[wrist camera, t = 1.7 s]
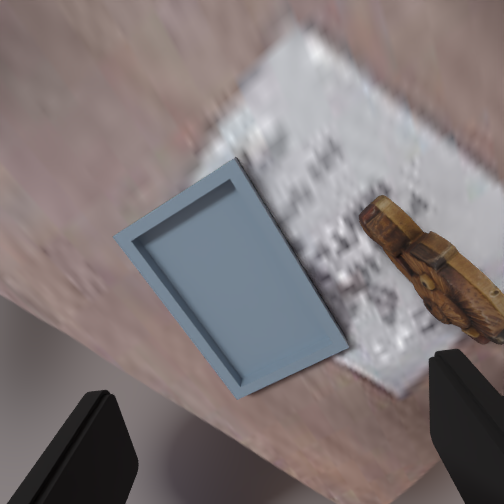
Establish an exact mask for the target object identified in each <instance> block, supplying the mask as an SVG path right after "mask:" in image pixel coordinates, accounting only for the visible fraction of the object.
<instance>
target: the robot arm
mask: <svg viewBox="0 0 504 504" xmlns="http://www.w3.org/2000/svg"><path fill="white" fill-rule="evenodd" d="M429 401H430V434H431V438H432V441H433V444H434V446H435V448H436V450H437V452H438V454H439V456H440V458H441V459H442V461H443V463H444V465H445V467H446V469H447V471H448V472H449V474H450V476H451V478H452V480H453V482H454V484H455V486H456V487H457V489H458V491H459V493H460V495H461V497H462V498H463V500H464V502H465V504H504V396H501V395H500V394H499V393H498V392H497V390H496V389H495V388H494V387H493V386H492V385H491V384H490V383H489V382H488V380H487V379H486V378H485V377H484V376H483V375H482V374H481V373H480V372H479V370H478V369H477V368H476V367H475V366H474V365H473V364H472V363H471V361H470V360H469V359H468V358H467V357H466V356H465V355H464V354H463V353H462V352H461V351H460V350H459V349H451V350H443V351H437V352H435V357H431V358H429ZM137 472H138V458H137V455H136V452H135V450H134V447H133V444H132V441H131V439H130V436H129V433H128V430H127V428H126V425H125V422H124V420H123V417H122V414H121V411H120V408H119V406H118V403H117V400H116V398H115V396H114V395H113V394H110V393H109V392H108V391H107V390H101V391H92V392H87V393H86V394H85V395H84V396H83V398H82V399H81V400H80V402H79V403H78V405H77V406H76V408H75V409H74V410H73V412H72V413H71V414H70V416H69V417H68V419H67V420H66V421H65V423H64V424H63V426H62V427H61V428H60V430H59V431H58V433H57V434H56V436H55V437H54V438H53V440H52V441H51V443H50V444H49V446H48V447H47V448H46V450H45V451H44V452H43V454H42V455H41V457H40V458H39V460H38V461H37V462H36V464H35V465H34V467H33V468H32V469H31V471H30V472H29V474H28V475H27V476H26V478H25V479H24V481H23V482H22V483H21V485H20V486H19V488H18V489H17V490H16V492H15V493H14V495H13V496H12V497H11V499H10V500H9V502H8V503H7V504H125V503H126V500H127V498H128V495H129V493H130V490H131V488H132V485H133V482H134V480H135V477H136V475H137Z"/></svg>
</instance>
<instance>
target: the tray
mask: <svg viewBox="0 0 504 504" xmlns="http://www.w3.org/2000/svg"><path fill="white" fill-rule="evenodd" d="M113 238H114V239H115V241H116V242H117V243H118V245H119V246H120V247H121V248H122V250H123V251H124V252H125V254H126V255H127V256H128V258H129V259H130V260H131V262H132V263H133V264H134V265H135V267H136V268H137V269H138V271H139V272H140V273H141V275H142V276H143V277H144V279H145V280H146V281H147V282H148V284H149V285H150V286H151V288H152V289H153V290H154V292H155V293H156V294H157V296H158V297H159V298H160V300H161V301H162V302H163V303H164V305H165V306H166V307H167V309H168V310H169V311H170V313H171V314H172V315H173V317H174V318H175V319H176V320H177V322H178V323H179V324H180V326H181V327H182V328H183V330H184V331H185V332H186V334H187V335H188V336H189V338H190V339H191V340H192V341H193V343H194V344H195V345H196V347H197V348H198V349H199V351H200V352H201V353H202V355H203V356H204V357H205V358H206V360H207V361H208V362H209V364H210V365H211V366H212V368H213V369H214V370H215V372H216V373H217V374H218V375H219V377H220V378H221V379H222V381H223V382H224V383H225V385H226V386H227V387H228V389H229V390H230V391H231V393H232V394H233V395H234V396H235V398H236V399H237V400H238V399H240V398H242V397H244V396H246V395H249V394H251V393H253V392H255V391H257V390H259V389H261V388H264V387H266V386H268V385H270V384H272V383H274V382H276V381H278V380H281V379H283V378H285V377H287V376H289V375H291V374H293V373H296V372H298V371H300V370H302V369H304V368H306V367H308V366H311V365H313V364H315V363H317V362H319V361H321V360H323V359H326V358H328V357H330V356H332V355H334V354H336V353H338V352H341V351H343V350H345V349H347V348H349V345H348V343H347V340H346V337H345V335H344V334H343V332H342V330H341V329H340V327H339V325H338V324H337V322H336V320H335V319H334V317H333V316H332V314H331V312H330V311H329V309H328V307H327V306H326V304H325V302H324V301H323V299H322V297H321V296H320V294H319V292H318V291H317V289H316V288H315V286H314V284H313V283H312V281H311V279H310V278H309V276H308V274H307V273H306V271H305V269H304V268H303V266H302V265H301V263H300V261H299V260H298V258H297V256H296V255H295V253H294V251H293V250H292V248H291V246H290V245H289V243H288V241H287V240H286V238H285V237H284V235H283V233H282V232H281V230H280V228H279V227H278V225H277V223H276V222H275V220H274V218H273V217H272V215H271V214H270V212H269V210H268V209H267V207H266V205H265V204H264V202H263V200H262V199H261V197H260V195H259V194H258V192H257V190H256V189H255V187H254V186H253V184H252V182H251V181H250V179H249V177H248V176H247V174H246V172H245V171H244V169H243V167H242V166H241V164H240V163H239V161H238V159H237V158H236V157H235V158H234V159H232V160H231V161H229V162H228V163H226V164H225V165H223V166H221V167H220V168H218V169H217V170H215V171H214V172H212V173H211V174H209V175H208V176H206V177H204V178H203V179H201V180H200V181H198V182H197V183H195V184H194V185H192V186H190V187H189V188H187V189H186V190H184V191H183V192H181V193H180V194H178V195H176V196H175V197H173V198H172V199H170V200H169V201H167V202H166V203H164V204H162V205H161V206H159V207H158V208H156V209H155V210H153V211H152V212H150V213H148V214H147V215H145V216H144V217H142V218H141V219H139V220H138V221H136V222H134V223H133V224H131V225H130V226H128V227H127V228H125V229H124V230H122V231H121V232H119V233H118V234H116V235H115V236H113Z"/></svg>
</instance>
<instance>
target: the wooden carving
mask: <svg viewBox="0 0 504 504" xmlns="http://www.w3.org/2000/svg"><path fill="white" fill-rule="evenodd" d="M359 220H360V221H359V222H360V224H361V226H362V227H363V230H364V231H365V232H366V234H367V235H368V236H369V237H370V238H371V239H373V240H374V241H375V242H376V243H378V244H379V245H380V246H382V247H383V249H384V251H385V252H386V254H387V255H388V257H389V258H390V259H391V261H392V262H393V263H394V264H395V265H396V267H397V268H398V269H399V270H400V271H401V272H402V273H403V274H404V275H405V277H406V278H408V279H409V281H410V282H412V283H413V285H414V287H415V290H416V291H417V293H418V294H419V296H420V297H421V298H422V299H423V300H424V301H423V302H424V305H425V306H426V308H427V309H428V311H429V312H430V313H431V314H432V315H433V316H434V317H435V318H436V319H438V320H439V321H441V322H442V323H444V324H453V325H456V326H458V327H460V328H461V329H462V331H463V332H464V333H466V334H468V335H469V336H470V337H471V338H472V339H474V340H475V341H477V342H478V343H481V344H487V343H488V342H490V341H492V342H494V343H497V344H500V345H502V344H504V294H503V293H502V292H501V291H500V290H499V288H497V287H496V286H495V285H494V284H493V283H492V282H491V280H490V279H489V278H488V277H487V276H486V275H484V274H483V273H482V272H481V271H480V270H479V269H478V268H476V267H475V266H474V265H473V264H472V263H471V262H470V261H469V260H467V259H466V258H465V257H464V256H463V255H461V254H460V253H459V252H458V250H457V249H456V247H455V246H454V245H452V244H451V243H450V242H448V241H447V240H446V239H444V238H442V237H441V236H439V235H438V234H436V233H434V232H432V231H430V233H429V234H428V233H425V232H423V231H422V230H421V229H420V227H419V226H418V225H417V224H416V223H415V222H414V221H413V220H412V219H411V218H410V217H409V216H408V215H407V214H406V213H405V212H404V211H403V210H402V209H401V208H400V207H399V206H398V205H396V204H395V203H394V202H392V201H391V200H390V199H389V198H387V197H386V196H384V195H381V196H378V197H377V198H376V199H375V200H374V201H373V202H372V203H371V204H369V205H368V206H367V207H366V208H365V209H364V210H363V211H362V212H361V214H360V215H359Z"/></svg>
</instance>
